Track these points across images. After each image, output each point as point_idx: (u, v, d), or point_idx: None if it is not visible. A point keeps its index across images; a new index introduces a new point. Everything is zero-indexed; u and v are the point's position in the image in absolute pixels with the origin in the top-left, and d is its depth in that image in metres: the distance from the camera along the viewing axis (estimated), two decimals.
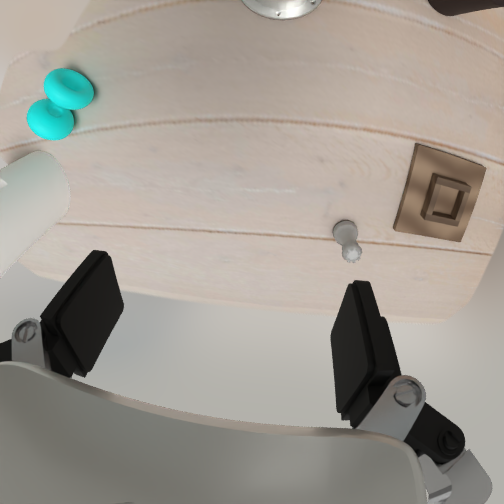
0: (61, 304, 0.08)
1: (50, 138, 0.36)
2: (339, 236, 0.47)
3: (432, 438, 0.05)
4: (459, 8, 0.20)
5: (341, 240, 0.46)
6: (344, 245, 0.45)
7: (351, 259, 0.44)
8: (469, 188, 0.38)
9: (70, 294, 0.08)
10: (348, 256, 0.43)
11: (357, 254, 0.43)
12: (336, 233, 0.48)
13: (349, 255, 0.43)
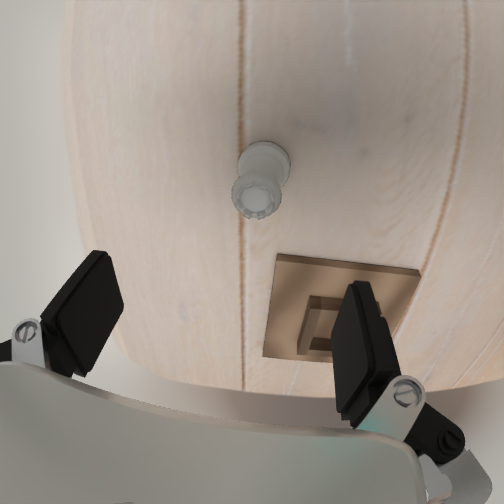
0: (61, 304, 0.08)
1: None
2: (266, 157, 0.21)
3: (432, 438, 0.05)
4: None
5: (263, 163, 0.21)
6: (265, 173, 0.19)
7: (241, 198, 0.18)
8: None
9: (70, 294, 0.08)
10: (250, 189, 0.18)
11: (257, 210, 0.18)
12: (267, 149, 0.22)
13: (253, 191, 0.18)
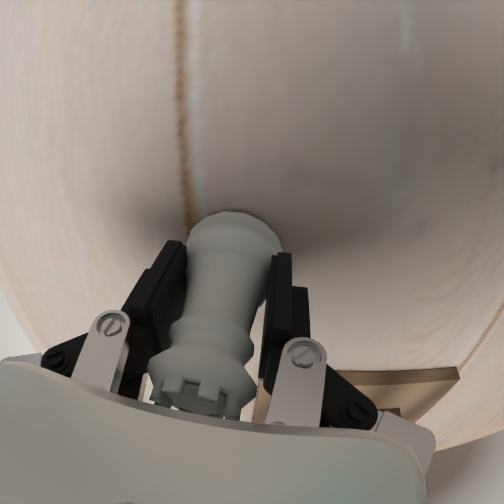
0: (151, 293, 0.08)
1: None
2: (231, 258, 0.10)
3: (334, 406, 0.06)
4: None
5: (222, 281, 0.10)
6: (220, 329, 0.08)
7: (167, 395, 0.07)
8: None
9: (157, 283, 0.09)
10: None
11: (205, 413, 0.08)
12: (235, 236, 0.11)
13: (189, 394, 0.07)
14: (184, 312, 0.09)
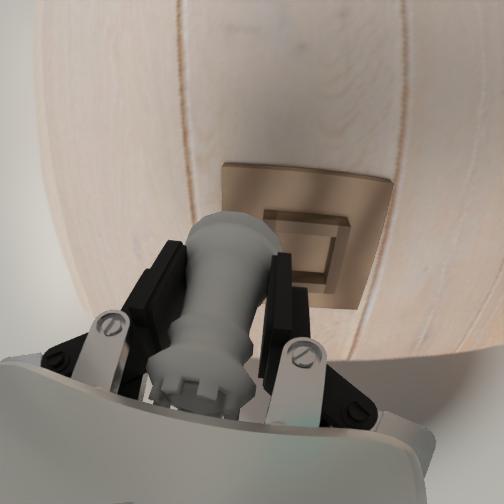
0: (151, 293, 0.08)
1: None
2: (230, 258, 0.10)
3: (334, 406, 0.06)
4: None
5: (221, 280, 0.10)
6: (219, 328, 0.08)
7: (166, 395, 0.07)
8: (332, 291, 0.29)
9: (157, 283, 0.09)
10: None
11: (204, 412, 0.08)
12: (235, 235, 0.11)
13: (188, 393, 0.07)
14: (183, 311, 0.09)
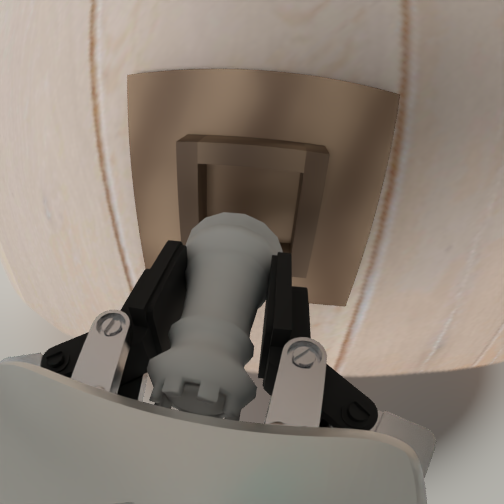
0: (151, 293, 0.08)
1: None
2: (231, 259, 0.10)
3: (334, 406, 0.06)
4: None
5: (222, 282, 0.10)
6: (220, 330, 0.08)
7: (167, 396, 0.07)
8: (301, 272, 0.18)
9: (157, 283, 0.09)
10: None
11: (205, 413, 0.08)
12: (235, 237, 0.11)
13: (189, 394, 0.07)
14: (184, 313, 0.09)
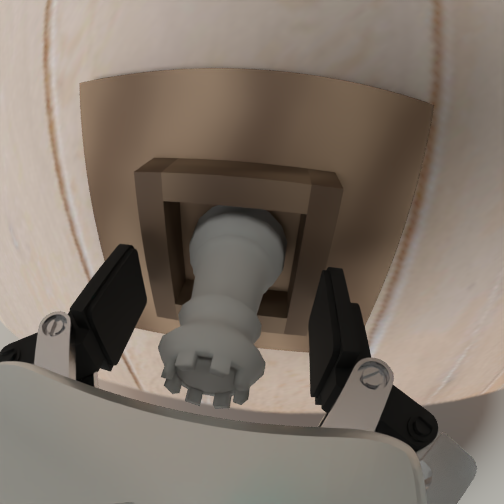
0: (92, 296, 0.08)
1: None
2: (239, 245, 0.11)
3: (401, 423, 0.06)
4: None
5: (231, 265, 0.10)
6: (230, 308, 0.09)
7: (178, 373, 0.08)
8: (301, 330, 0.14)
9: (100, 287, 0.09)
10: None
11: (214, 391, 0.08)
12: (242, 224, 0.11)
13: (201, 370, 0.07)
14: (194, 294, 0.10)
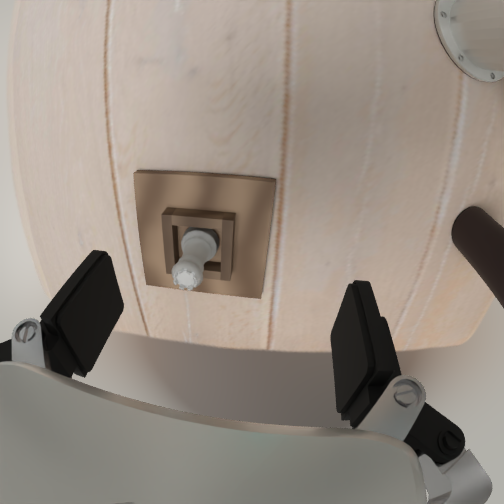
0: (61, 304, 0.08)
1: None
2: (198, 240, 0.31)
3: (432, 438, 0.05)
4: (477, 246, 0.26)
5: (195, 247, 0.30)
6: (193, 258, 0.29)
7: (177, 277, 0.28)
8: (227, 278, 0.34)
9: (70, 294, 0.08)
10: (181, 273, 0.27)
11: (187, 284, 0.28)
12: (200, 233, 0.32)
13: (184, 274, 0.27)
14: (183, 256, 0.30)
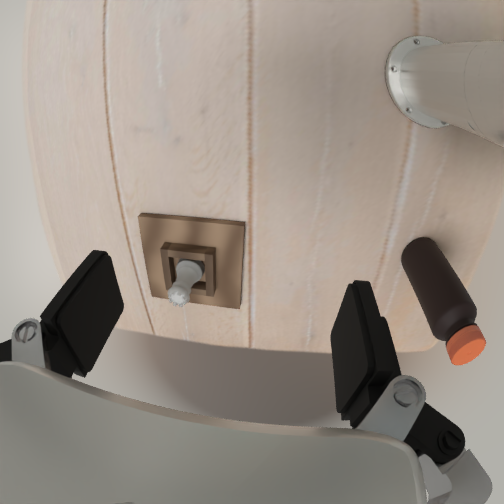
0: (61, 304, 0.08)
1: None
2: (187, 268, 0.42)
3: (432, 438, 0.05)
4: (416, 276, 0.36)
5: (185, 274, 0.41)
6: (183, 283, 0.39)
7: (171, 297, 0.39)
8: (211, 294, 0.45)
9: (70, 294, 0.08)
10: (174, 294, 0.38)
11: (179, 302, 0.39)
12: (189, 263, 0.42)
13: (176, 295, 0.38)
14: (176, 281, 0.40)
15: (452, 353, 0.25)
